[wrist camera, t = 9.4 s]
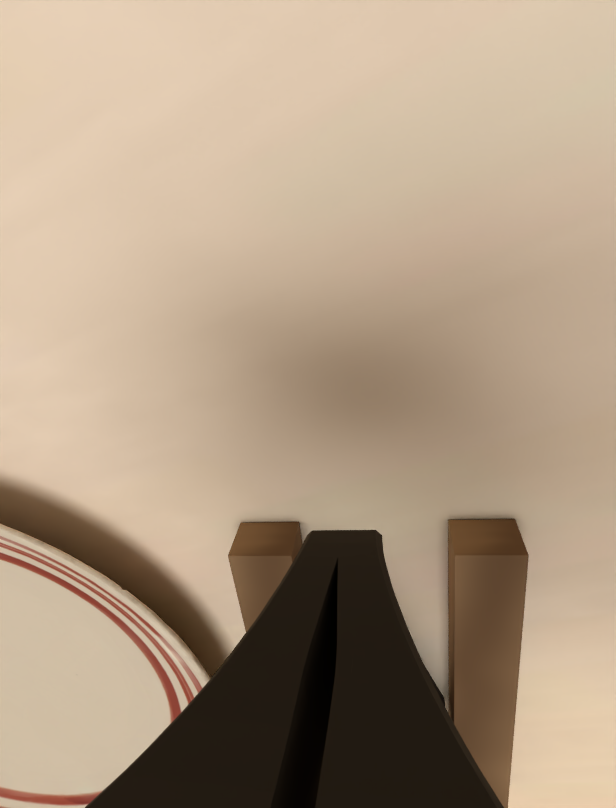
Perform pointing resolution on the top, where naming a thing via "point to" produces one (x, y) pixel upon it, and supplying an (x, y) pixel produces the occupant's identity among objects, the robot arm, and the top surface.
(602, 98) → the top surface
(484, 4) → the top surface
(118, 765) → the dinner plate
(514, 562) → the guide rails
